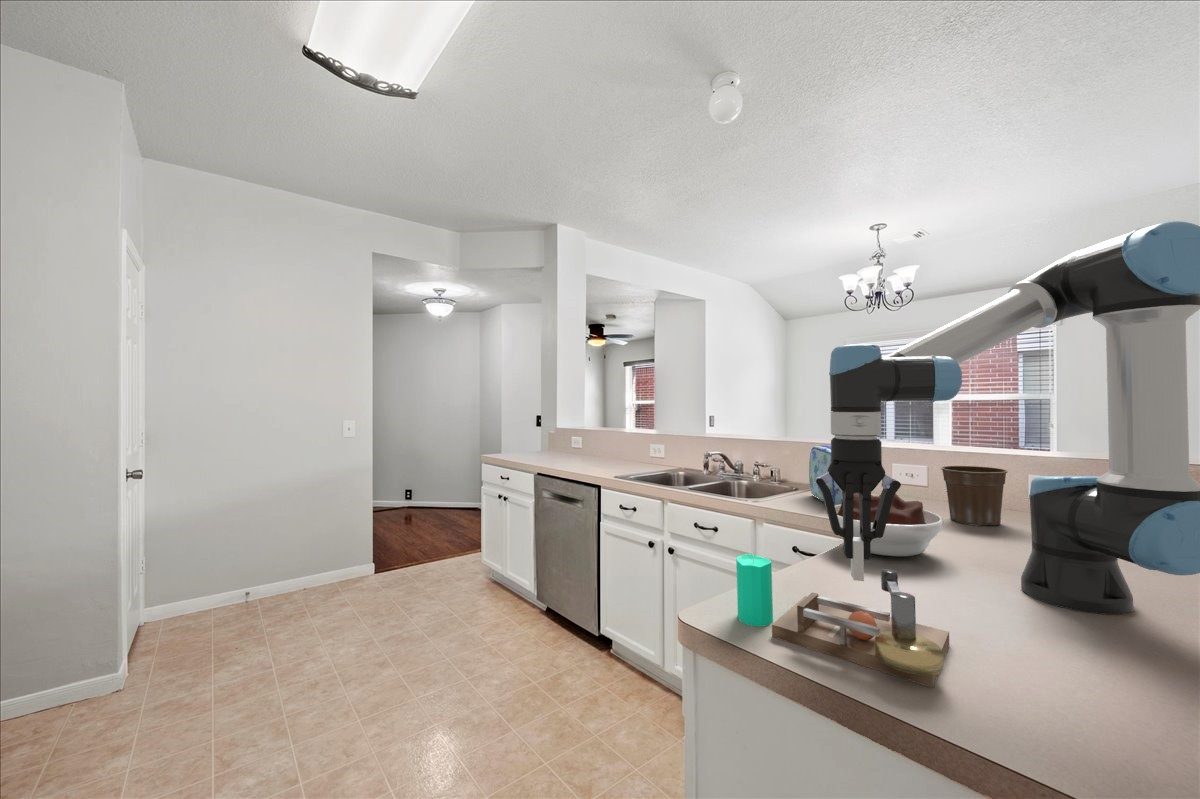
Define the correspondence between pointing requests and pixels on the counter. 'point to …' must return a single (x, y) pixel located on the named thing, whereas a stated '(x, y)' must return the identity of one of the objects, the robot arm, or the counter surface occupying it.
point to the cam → (905, 635)
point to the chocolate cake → (898, 526)
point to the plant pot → (974, 494)
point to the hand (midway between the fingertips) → (857, 577)
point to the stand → (846, 633)
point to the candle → (754, 590)
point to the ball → (862, 618)
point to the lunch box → (818, 467)
